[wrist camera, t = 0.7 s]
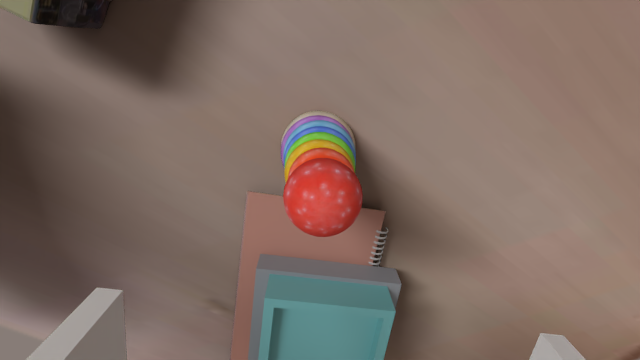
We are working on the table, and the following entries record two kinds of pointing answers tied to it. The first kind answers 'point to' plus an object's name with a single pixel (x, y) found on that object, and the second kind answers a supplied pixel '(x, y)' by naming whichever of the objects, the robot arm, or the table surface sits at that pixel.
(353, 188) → the stacking toy
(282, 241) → the notebook
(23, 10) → the toy bus
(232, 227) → the table surface
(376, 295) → the brick base
